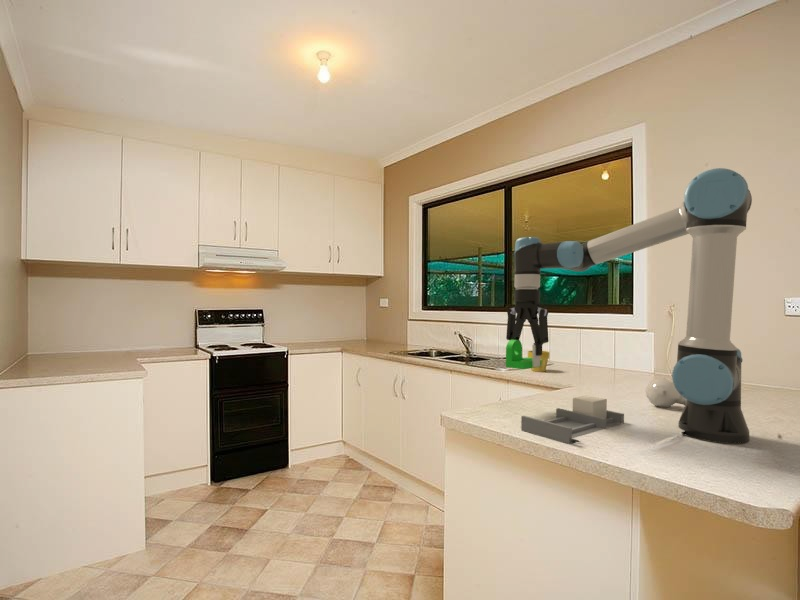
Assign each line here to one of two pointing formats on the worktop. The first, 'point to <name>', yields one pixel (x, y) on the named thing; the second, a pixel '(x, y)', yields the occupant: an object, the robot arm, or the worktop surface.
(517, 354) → the mechanical part
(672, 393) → the potion bottle
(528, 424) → the grey rail frame
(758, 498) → the worktop surface
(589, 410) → the block
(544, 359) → the plant pot
